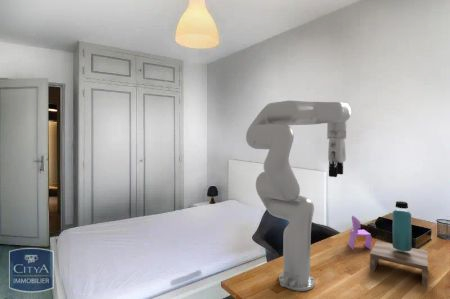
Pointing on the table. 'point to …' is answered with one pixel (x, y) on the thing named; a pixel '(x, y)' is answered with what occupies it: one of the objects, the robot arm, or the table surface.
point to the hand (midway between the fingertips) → (336, 175)
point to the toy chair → (359, 234)
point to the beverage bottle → (402, 227)
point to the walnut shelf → (400, 258)
